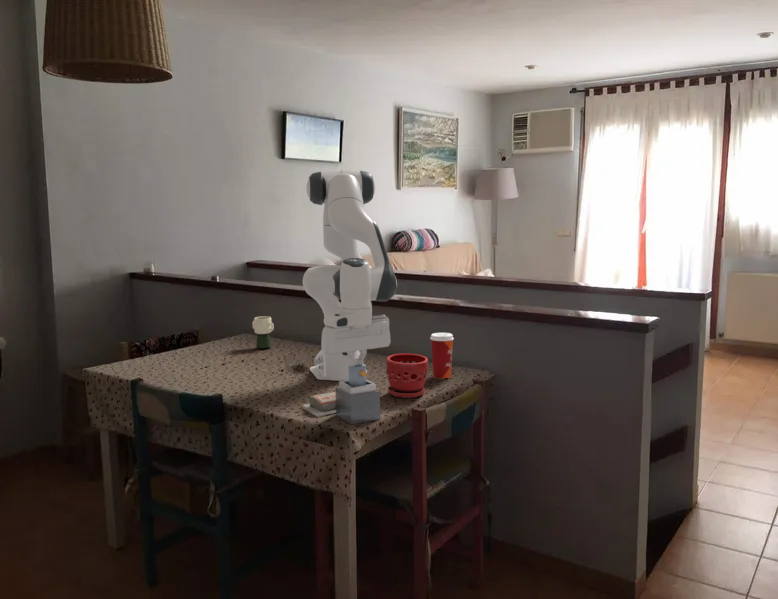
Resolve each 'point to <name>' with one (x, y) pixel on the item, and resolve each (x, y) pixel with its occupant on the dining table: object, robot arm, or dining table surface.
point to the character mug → (263, 331)
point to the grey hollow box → (358, 402)
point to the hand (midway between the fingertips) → (357, 365)
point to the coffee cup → (441, 354)
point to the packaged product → (322, 404)
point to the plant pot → (406, 375)
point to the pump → (357, 375)
